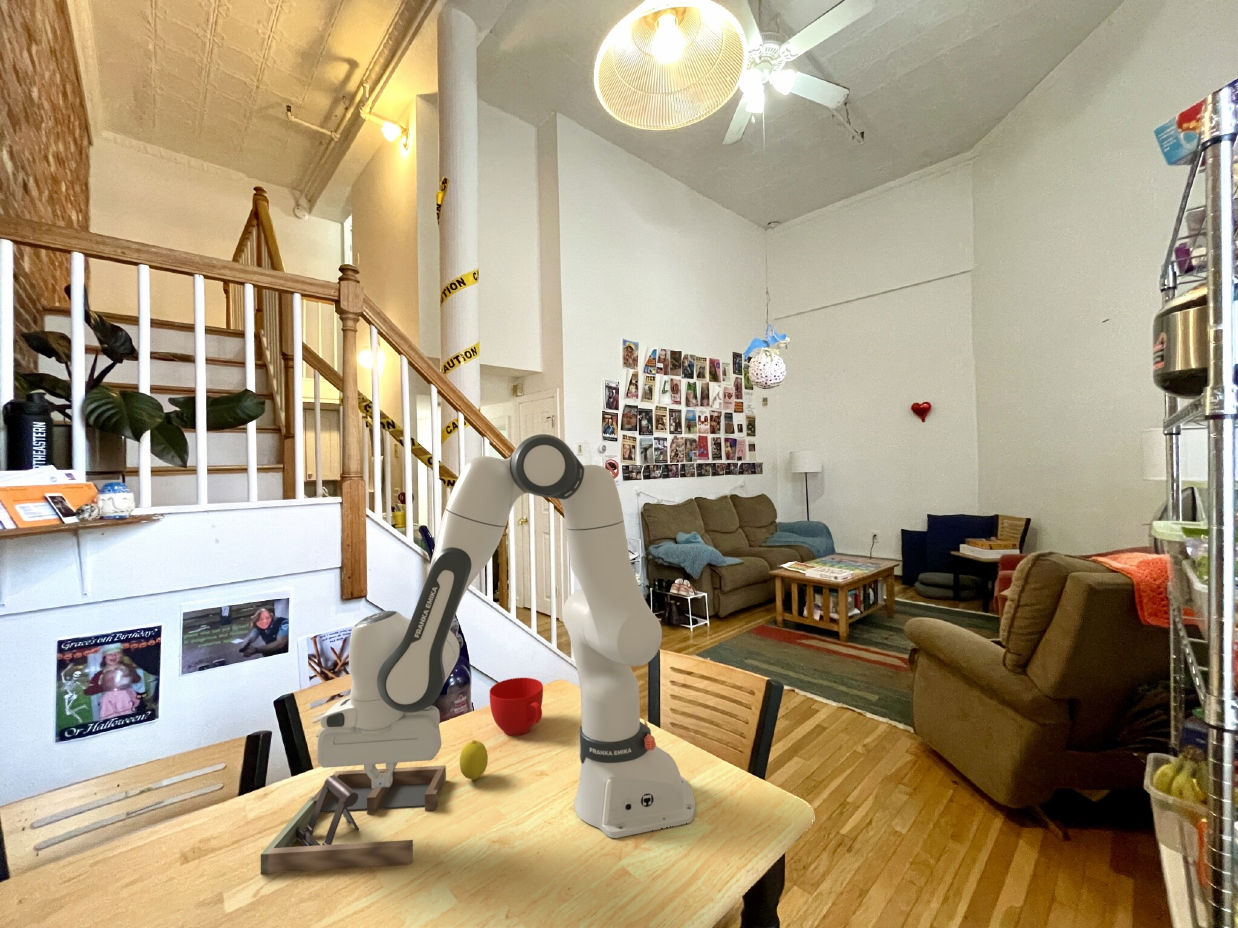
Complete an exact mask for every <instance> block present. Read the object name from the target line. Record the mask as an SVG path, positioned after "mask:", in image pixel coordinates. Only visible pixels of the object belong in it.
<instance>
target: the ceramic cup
mask: <svg viewBox="0 0 1238 928" xmlns="http://www.w3.org/2000/svg"><path fill="white" fill-rule="evenodd" d="M543 697H544V686H543V682H542V681H540V680H538V679H536V678H531V677H515V678H514V677H513V678H508V679H504V680H502V681H499V682H496V683H495V684H494V685H492V687H490V689H489V706H490V711H491V715H492V718H493V720H494V723H496V725H497V727H499V729H500V730H501V731H502V732H503V733H504V734H505V735H506V736H507V735H509V736H521V735H524V734H527V733H528V732H529V731H531V728H532V727H533V726H534V725H536V724H538V723H539V722H540V721H541V720H542V717H543V710H542V706H543Z"/></svg>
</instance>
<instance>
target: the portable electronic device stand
mask: <svg viewBox="0 0 1238 928" xmlns="http://www.w3.org/2000/svg"><path fill="white" fill-rule="evenodd" d="M322 787H323V788H322ZM322 787H321V788H322V790H321V793H320V795H319V798H318V801H317V803H316V806H315V809H314V811H313V814H312V816H311V819H310V822H309V824H308V825H307V827H306V828H305V829H304V830H302V829H301V828H300V827H297V828H296V837H297V840H298V841H300V842H301V844H302V845H303V846H318V845H333V844H332V843H333V840H334V838H335V835H336V833H337V829H338V827H339V823H340V821H341V819H342V815H343V817H344V819H345V820H346V821H347V823H348V824H351V825H352V826H353V828H354V829H355V831H357V832H359V831H360V828H359V827H358V825H357V823H356V821H355V819H354V817H353V816H352V813H351V811H349V810H348V809H347V807H351V806H353V805H354V804H355V803H356V802H357V800H358V794H357V793H356V792H355V791H353V790H352V789H351V788H350V787H348V786H347V785H346V784H345V783H343V782H342V781H341V780H340V779H338V778H337V777H336V776H334V775H333V774H332V775H329V776H328V777H327V778H326V779H325V781H324V783H323V786H322ZM329 793H331V795H332V796H333V798H334V800H335V802H336V803H337V808H336V811H335V812H333V813H334V814H333V816H332V820H331V822H330V826H329V827H328V830H327V833H326V836H325V839H324V840H323V842H322V844H320V842H319V841H318V840H316V838H315V837H314V836H313V833H314V831H315V829H316V825H317V822H318V820H319V817H320V815H321V813H320V812H321V810H322V807H323V804H324V802H325V799H326V797H327V795H328V794H329Z"/></svg>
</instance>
